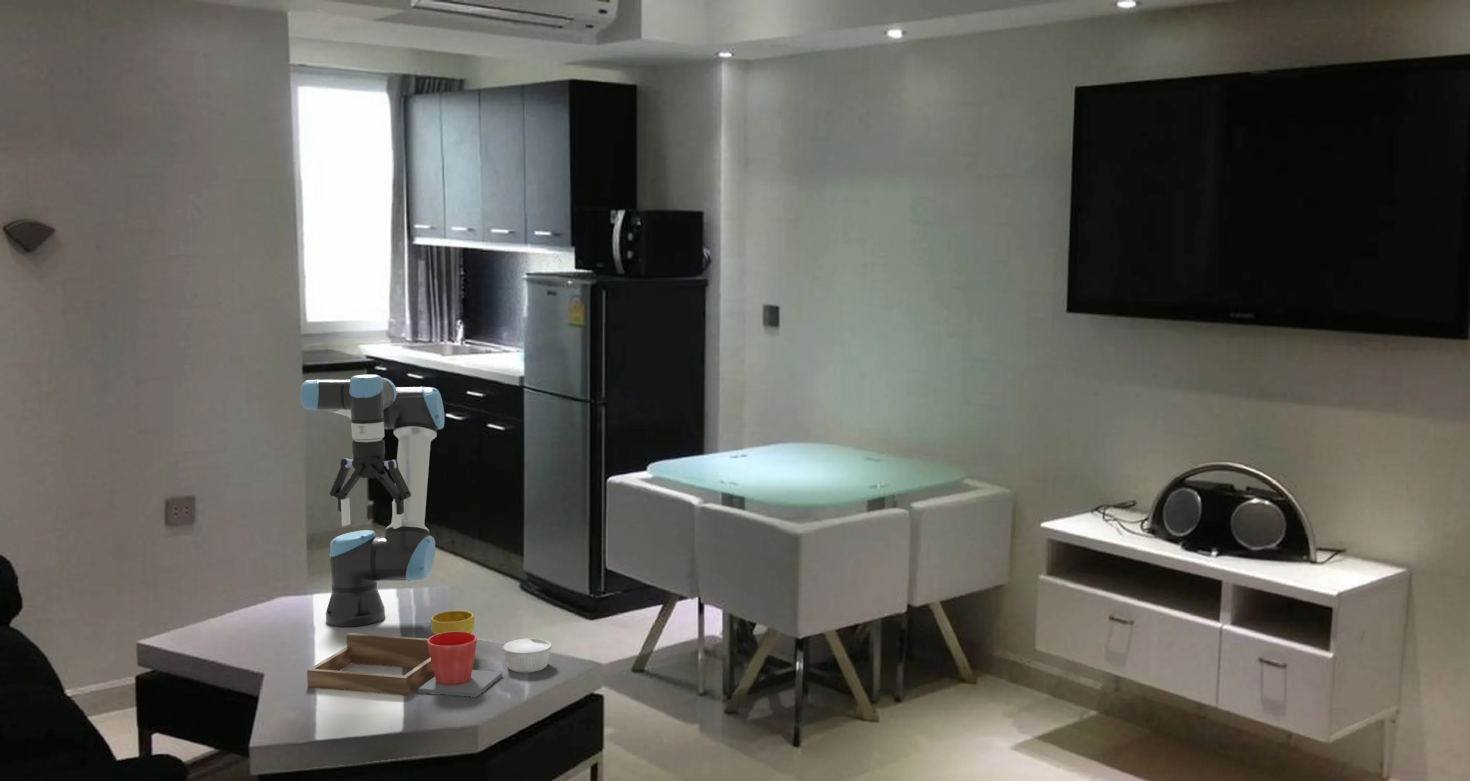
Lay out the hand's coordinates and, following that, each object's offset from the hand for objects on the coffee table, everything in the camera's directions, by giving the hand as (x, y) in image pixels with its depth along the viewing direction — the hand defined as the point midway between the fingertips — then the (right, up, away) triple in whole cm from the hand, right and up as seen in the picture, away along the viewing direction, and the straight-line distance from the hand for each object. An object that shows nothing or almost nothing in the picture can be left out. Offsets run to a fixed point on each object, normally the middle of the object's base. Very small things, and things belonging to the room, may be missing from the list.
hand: (371, 526), depth 306 cm
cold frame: (+5, -34, -14) cm, 37 cm away
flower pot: (+24, -33, -18) cm, 45 cm away
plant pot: (+19, -32, +2) cm, 37 cm away
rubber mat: (+26, -34, -19) cm, 46 cm away
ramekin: (+39, -33, -6) cm, 51 cm away
